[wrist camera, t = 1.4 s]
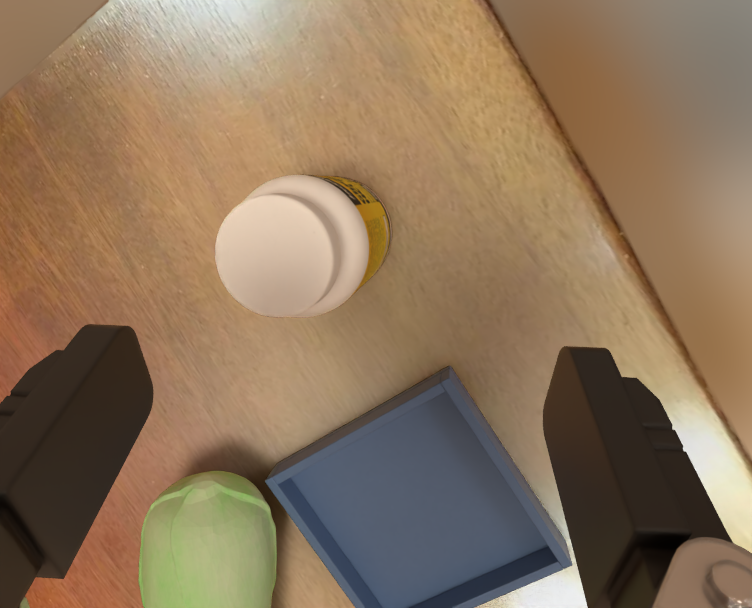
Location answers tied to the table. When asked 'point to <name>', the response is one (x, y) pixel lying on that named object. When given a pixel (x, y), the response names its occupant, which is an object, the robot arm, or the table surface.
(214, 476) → the corn
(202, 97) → the table surface
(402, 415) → the slate-blue tray
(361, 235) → the pill bottle
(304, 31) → the table surface
